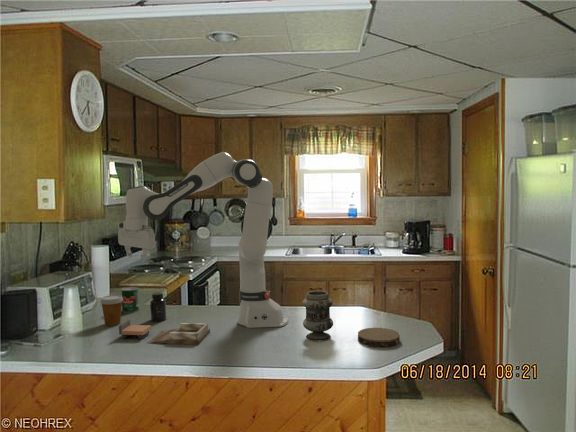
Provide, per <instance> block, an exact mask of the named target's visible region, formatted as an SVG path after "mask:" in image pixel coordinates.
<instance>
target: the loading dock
mask: <svg viewBox="0 0 576 432" xmlns="http://www.w3.org/2000/svg"><path fill="white" fill-rule="evenodd" d="M179 327H180V328H173V329H168V330H167V329H166V330H161V331H159V333H158V334H156V335H155V336H153V337H152V338H151V339H149V340H148V342H146V344H165V343H166V344H168V345H169V344H171V345H197V346H199V345H200V344H201V343H202V342H203V341H204V340H205V339H206V338H207V337H208V335H209V334H210V333H211V329H210V328H209V323H201V322H200V323H193V322H187V323H186V322H181V323H180V326H179Z"/></svg>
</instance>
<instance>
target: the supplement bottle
mask: <svg viewBox="0 0 576 432" xmlns="http://www.w3.org/2000/svg"><path fill="white" fill-rule="evenodd" d="M151 296H152V297H151V298H152V299H151V300H150V303H149V304H150V306H149V307H150V320H151V321H152V322H162V321H165V320H167V306H166V305H167V302H166V299H165V298H164V293H163V292H154V293H152V294H151Z"/></svg>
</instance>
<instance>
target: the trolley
mask: <svg viewBox="0 0 576 432" xmlns="http://www.w3.org/2000/svg"><path fill="white" fill-rule="evenodd" d="M151 330H152V325H150V324H149V325H143V324H141V325H139V324H131V320H130V319H128V320H126V321H124V322H123V323H120V324H119V325H118V334H119V335H121V338H122V339H123V340H125V339H127V338H128V337H130V336H133V335H134V336H137V338H138V339H139V340H143V339H144V338H146V337H147V336H148V335H150V331H151Z"/></svg>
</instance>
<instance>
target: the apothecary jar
mask: <svg viewBox="0 0 576 432" xmlns="http://www.w3.org/2000/svg"><path fill="white" fill-rule="evenodd" d="M302 305H303V306H304V307H305V318H304V319H303V321H302V325H303V328H304V329H305V330H307V331H309V333H307V334H306V336H305V339H307V340H308V341H312V342H324V341H328V340H330V339H331V337H332V336H331V335H330V333H327V331H329V330H330V329H332V328H333V326H334V321H333V319H332V318H331V315H330V313H331V312H330V310H331V309H330V308H331V307H332V306H333V299H332V298H330V296H329V293H328V291H325V290H311V291H308V292H306V297H305V298H304V299H303V300H302Z"/></svg>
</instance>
